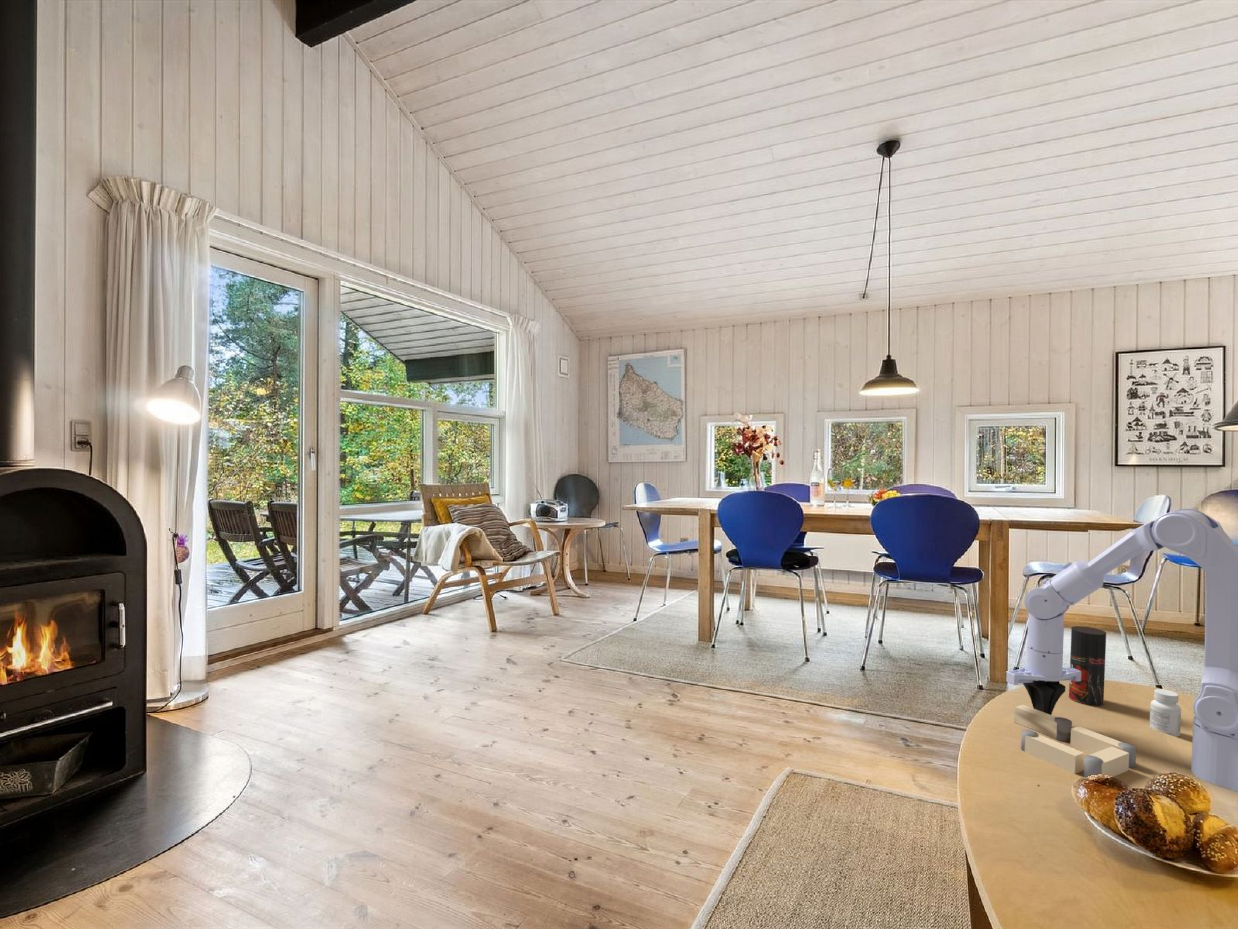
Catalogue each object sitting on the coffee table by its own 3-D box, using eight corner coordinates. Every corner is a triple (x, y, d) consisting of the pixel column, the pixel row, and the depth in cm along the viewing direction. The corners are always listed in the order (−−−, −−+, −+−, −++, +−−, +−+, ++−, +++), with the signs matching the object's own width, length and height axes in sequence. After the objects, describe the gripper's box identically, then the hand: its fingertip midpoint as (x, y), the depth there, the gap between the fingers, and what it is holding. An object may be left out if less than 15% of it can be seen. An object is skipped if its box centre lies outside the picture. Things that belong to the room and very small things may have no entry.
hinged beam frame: (1141, 770, 105) (1142, 748, 105) (1097, 788, 100) (1098, 765, 100) (1058, 737, 117) (1059, 717, 117) (1015, 752, 111) (1015, 730, 111)
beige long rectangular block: (1074, 740, 114) (1075, 721, 114) (1066, 743, 113) (1066, 724, 113) (1022, 719, 123) (1022, 702, 123) (1014, 722, 122) (1014, 704, 122)
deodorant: (1110, 706, 131) (1113, 634, 131) (1081, 705, 131) (1084, 634, 131) (1090, 694, 137) (1092, 626, 137) (1062, 694, 137) (1064, 626, 137)
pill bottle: (1168, 728, 121) (1169, 688, 121) (1186, 738, 117) (1188, 697, 117) (1143, 726, 122) (1145, 687, 122) (1160, 737, 118) (1162, 696, 117)
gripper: (1060, 640, 126) (1057, 707, 127) (995, 643, 124) (993, 711, 125) (1092, 652, 119) (1089, 723, 120) (1023, 656, 117) (1021, 728, 118)
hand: (1042, 718), depth 122 cm, fingers closed
